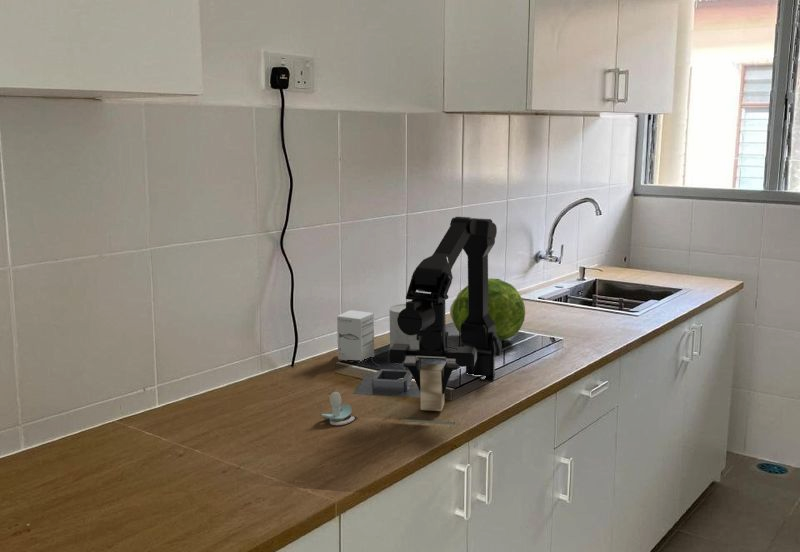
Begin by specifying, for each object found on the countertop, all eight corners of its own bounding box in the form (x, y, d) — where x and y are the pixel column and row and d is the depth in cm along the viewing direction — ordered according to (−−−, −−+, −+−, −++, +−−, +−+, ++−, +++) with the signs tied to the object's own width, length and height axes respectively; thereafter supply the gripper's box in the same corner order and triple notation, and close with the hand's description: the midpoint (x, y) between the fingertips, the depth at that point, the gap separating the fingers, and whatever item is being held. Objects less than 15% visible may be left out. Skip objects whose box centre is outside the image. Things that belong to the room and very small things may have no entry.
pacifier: (361, 419, 175) (341, 412, 179) (361, 392, 173) (341, 385, 177) (337, 430, 169) (317, 422, 173) (337, 402, 168) (317, 395, 172)
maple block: (444, 403, 178) (444, 364, 176) (441, 411, 174) (441, 371, 172) (424, 402, 179) (423, 363, 177) (420, 409, 175) (420, 370, 173)
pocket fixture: (430, 380, 198) (430, 367, 197) (420, 401, 184) (420, 387, 184) (366, 377, 201) (366, 364, 200) (352, 396, 188) (352, 383, 187)
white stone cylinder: (405, 359, 214) (405, 314, 212) (382, 351, 221) (381, 308, 219) (432, 352, 220) (431, 308, 218) (408, 344, 227) (408, 302, 225)
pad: (460, 405, 181) (460, 403, 181) (454, 424, 171) (454, 422, 170) (412, 402, 183) (412, 400, 183) (403, 421, 173) (403, 418, 173)
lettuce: (475, 328, 244) (463, 271, 240) (540, 332, 228) (529, 271, 224) (435, 352, 231) (422, 292, 227) (502, 357, 215) (489, 293, 211)
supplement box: (337, 362, 213) (335, 315, 210) (351, 354, 219) (350, 309, 217) (361, 365, 210) (360, 318, 207) (375, 357, 216) (374, 312, 213)
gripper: (479, 315, 178) (479, 382, 182) (396, 312, 182) (398, 378, 185) (474, 329, 168) (473, 400, 171) (386, 325, 172) (387, 395, 175)
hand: (432, 392), depth 176 cm, fingers closed on maple block, 4 cm apart
